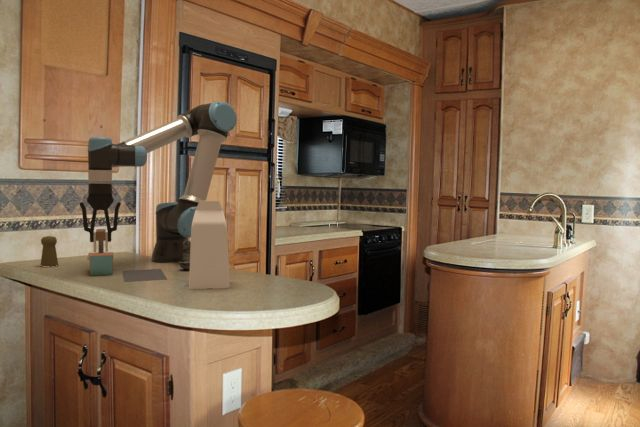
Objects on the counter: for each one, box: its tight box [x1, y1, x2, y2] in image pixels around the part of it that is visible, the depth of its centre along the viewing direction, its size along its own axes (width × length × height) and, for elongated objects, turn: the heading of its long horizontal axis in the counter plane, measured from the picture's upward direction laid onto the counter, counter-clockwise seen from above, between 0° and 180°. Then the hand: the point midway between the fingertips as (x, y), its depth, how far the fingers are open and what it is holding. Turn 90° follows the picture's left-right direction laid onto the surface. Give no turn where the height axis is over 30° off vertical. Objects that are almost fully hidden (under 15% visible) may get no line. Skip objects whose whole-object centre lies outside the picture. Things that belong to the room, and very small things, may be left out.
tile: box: [89, 252, 114, 276], centre depth 180 cm, size 7×2×8 cm, turn 111°
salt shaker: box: [178, 237, 191, 271], centre depth 192 cm, size 6×6×12 cm
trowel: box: [86, 228, 114, 261], centre depth 188 cm, size 15×8×9 cm, turn 21°
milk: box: [188, 200, 231, 290], centre depth 168 cm, size 12×12×26 cm
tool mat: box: [121, 268, 169, 283], centre depth 182 cm, size 13×22×1 cm, turn 22°
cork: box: [40, 235, 59, 267], centre depth 201 cm, size 6×6×11 cm
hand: (100, 251), depth 187 cm, fingers closed on trowel, 3 cm apart
